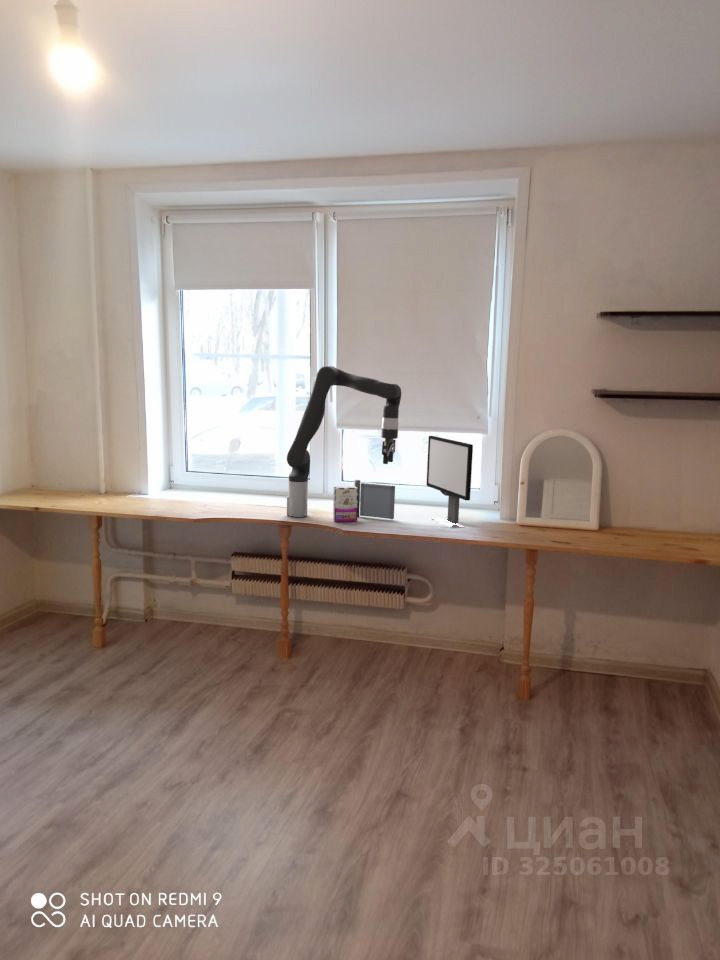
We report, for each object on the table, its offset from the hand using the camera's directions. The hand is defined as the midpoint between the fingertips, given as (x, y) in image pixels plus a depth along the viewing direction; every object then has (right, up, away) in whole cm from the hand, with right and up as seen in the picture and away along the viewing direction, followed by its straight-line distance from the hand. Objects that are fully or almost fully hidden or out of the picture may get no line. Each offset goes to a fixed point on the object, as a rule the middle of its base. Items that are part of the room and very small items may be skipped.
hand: (387, 462), depth 321 cm
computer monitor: (+29, -29, +14) cm, 43 cm away
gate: (-5, -26, +18) cm, 32 cm away
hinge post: (-15, -26, +22) cm, 37 cm away
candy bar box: (-20, -28, +11) cm, 36 cm away
